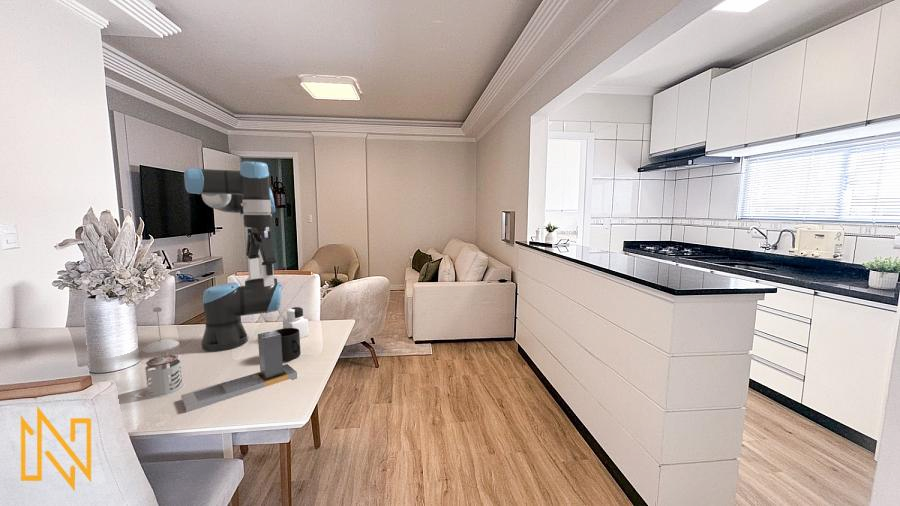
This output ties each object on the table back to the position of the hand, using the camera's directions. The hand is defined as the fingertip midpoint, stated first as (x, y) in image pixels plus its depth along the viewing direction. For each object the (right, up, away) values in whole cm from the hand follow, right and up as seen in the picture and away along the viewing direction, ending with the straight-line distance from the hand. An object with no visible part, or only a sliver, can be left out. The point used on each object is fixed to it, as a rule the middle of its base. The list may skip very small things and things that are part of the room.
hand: (261, 281), depth 111 cm
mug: (+2, -28, +15) cm, 32 cm away
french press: (-23, -31, -8) cm, 40 cm away
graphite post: (+4, -29, -2) cm, 30 cm away
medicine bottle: (-4, -26, +35) cm, 44 cm away
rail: (-1, -31, -8) cm, 32 cm away
